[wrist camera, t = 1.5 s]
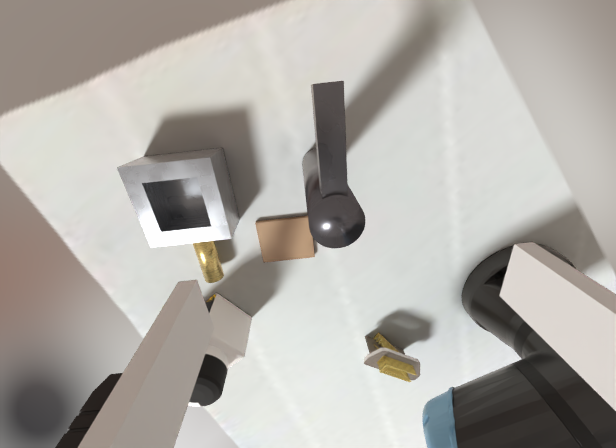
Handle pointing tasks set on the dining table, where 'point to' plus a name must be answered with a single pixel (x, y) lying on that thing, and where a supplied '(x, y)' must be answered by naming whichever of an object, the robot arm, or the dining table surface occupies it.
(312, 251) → the copper plate
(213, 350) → the medicine bottle
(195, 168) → the block
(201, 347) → the robot arm
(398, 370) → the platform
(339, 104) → the chuck key
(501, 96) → the dining table surface
